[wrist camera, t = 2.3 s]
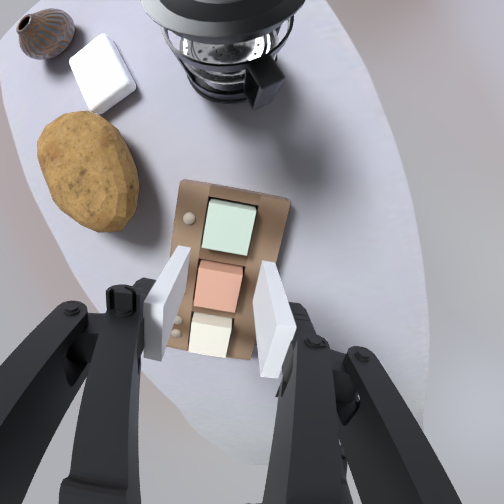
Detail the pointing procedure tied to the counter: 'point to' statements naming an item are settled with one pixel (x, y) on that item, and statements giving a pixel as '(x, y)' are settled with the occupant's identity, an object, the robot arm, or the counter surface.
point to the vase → (45, 33)
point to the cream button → (210, 334)
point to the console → (225, 257)
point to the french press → (228, 44)
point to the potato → (89, 171)
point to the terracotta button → (218, 285)
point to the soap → (101, 74)
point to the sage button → (228, 226)
